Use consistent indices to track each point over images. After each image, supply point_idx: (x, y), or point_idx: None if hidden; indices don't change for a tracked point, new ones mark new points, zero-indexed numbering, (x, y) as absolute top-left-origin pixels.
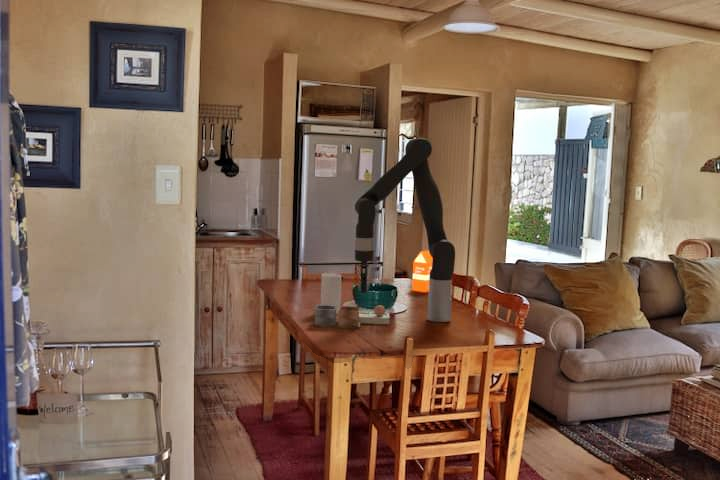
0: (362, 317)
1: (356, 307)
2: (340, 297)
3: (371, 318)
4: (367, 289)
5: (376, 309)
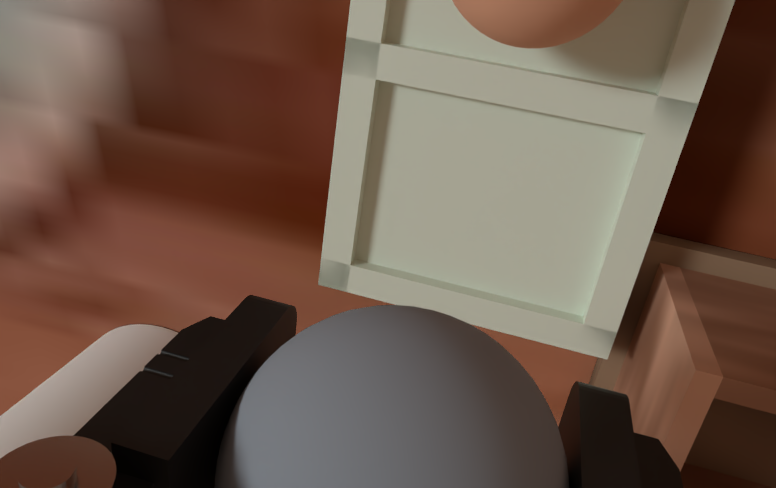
0: (649, 232)
1: (705, 409)
2: (54, 426)
3: (694, 106)
4: (519, 363)
5: (596, 18)
